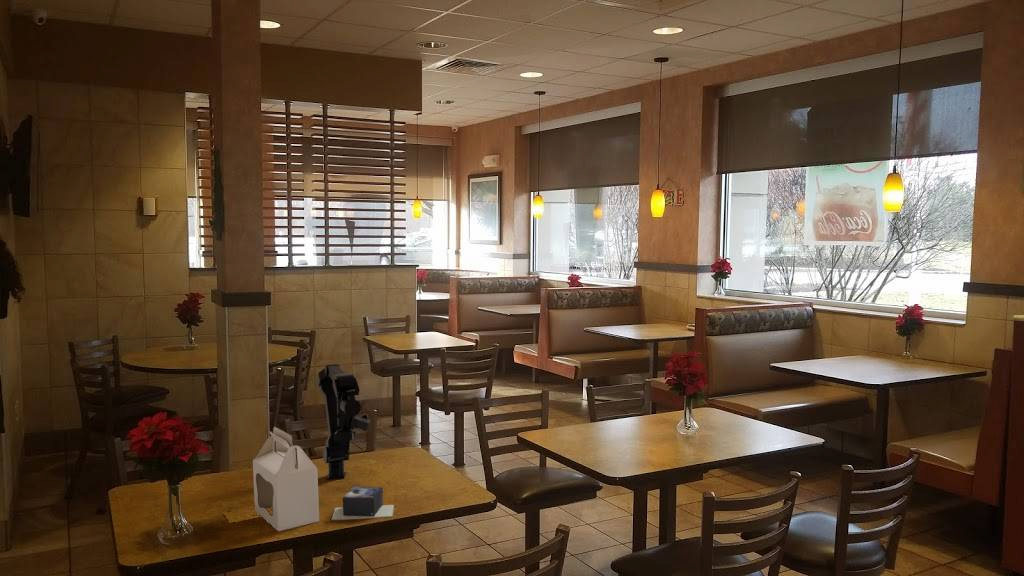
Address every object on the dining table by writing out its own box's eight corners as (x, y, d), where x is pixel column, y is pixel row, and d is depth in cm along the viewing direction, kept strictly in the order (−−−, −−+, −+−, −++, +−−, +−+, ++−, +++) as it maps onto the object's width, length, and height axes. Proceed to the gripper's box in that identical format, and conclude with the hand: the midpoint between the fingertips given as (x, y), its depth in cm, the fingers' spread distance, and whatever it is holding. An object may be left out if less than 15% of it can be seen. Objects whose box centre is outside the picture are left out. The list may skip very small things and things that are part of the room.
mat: (335, 509, 250) (335, 507, 250) (393, 505, 252) (393, 504, 252) (331, 520, 240) (331, 519, 240) (392, 517, 242) (392, 515, 242)
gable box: (254, 511, 249) (250, 427, 247) (293, 502, 257) (290, 421, 255) (278, 532, 231) (275, 442, 229) (319, 521, 239) (316, 434, 237)
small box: (382, 485, 251) (374, 497, 241) (383, 504, 252) (375, 517, 242) (351, 485, 252) (342, 496, 242) (352, 504, 253) (342, 516, 242)
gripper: (366, 415, 258) (367, 460, 259) (370, 403, 277) (372, 445, 278) (333, 417, 257) (334, 462, 258) (339, 405, 275) (341, 447, 277)
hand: (346, 454), depth 268 cm, fingers closed
